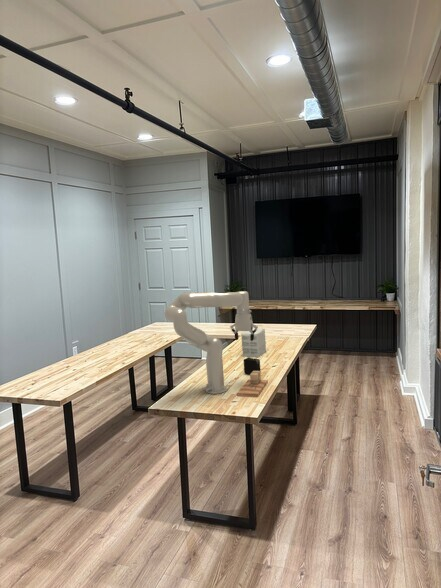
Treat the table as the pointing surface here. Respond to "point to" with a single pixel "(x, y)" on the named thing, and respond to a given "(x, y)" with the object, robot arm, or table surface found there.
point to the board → (252, 389)
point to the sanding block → (255, 377)
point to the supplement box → (253, 343)
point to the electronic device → (251, 365)
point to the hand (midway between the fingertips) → (244, 340)
